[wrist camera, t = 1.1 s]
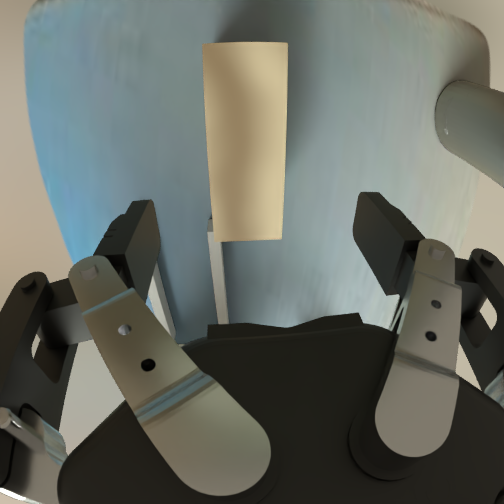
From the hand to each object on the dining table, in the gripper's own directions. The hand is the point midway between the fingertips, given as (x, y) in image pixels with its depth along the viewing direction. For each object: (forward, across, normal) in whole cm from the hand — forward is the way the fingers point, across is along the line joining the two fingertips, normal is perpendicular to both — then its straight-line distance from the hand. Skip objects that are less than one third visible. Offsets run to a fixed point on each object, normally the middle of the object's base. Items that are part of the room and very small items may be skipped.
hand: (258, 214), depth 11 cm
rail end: (+18, 0, 0) cm, 18 cm away
